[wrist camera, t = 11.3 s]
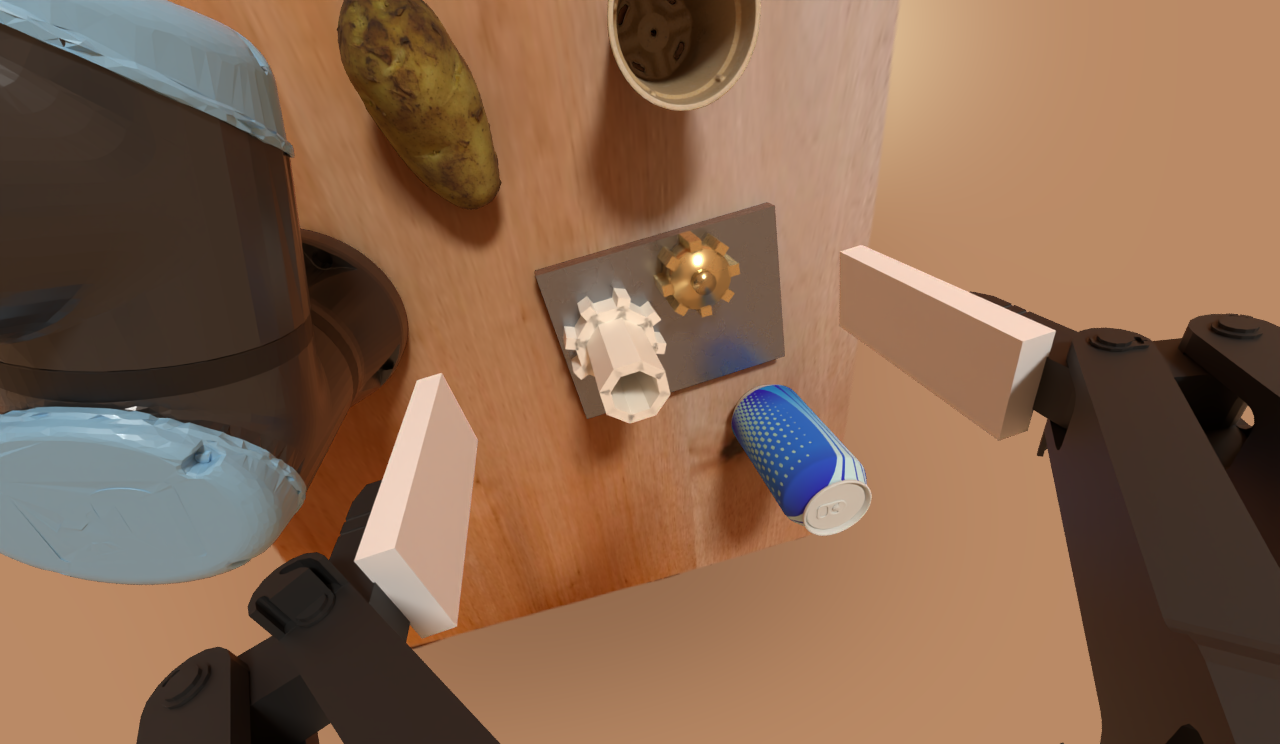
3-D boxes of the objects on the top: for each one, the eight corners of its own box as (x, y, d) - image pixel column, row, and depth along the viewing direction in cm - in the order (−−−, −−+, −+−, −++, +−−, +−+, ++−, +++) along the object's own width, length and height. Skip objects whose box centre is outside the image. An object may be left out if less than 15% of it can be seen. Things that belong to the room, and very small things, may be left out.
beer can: (754, 368, 53) (836, 462, 39) (807, 392, 56) (899, 487, 43) (713, 426, 56) (776, 532, 42) (766, 446, 59) (839, 550, 46)
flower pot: (705, 110, 39) (748, 113, 32) (589, 105, 37) (607, 108, 30) (719, -41, 34) (773, -77, 27) (587, -55, 32) (608, -99, 25)
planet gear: (580, 386, 47) (595, 453, 39) (552, 306, 43) (561, 362, 34) (666, 359, 48) (699, 420, 39) (647, 277, 43) (680, 325, 34)
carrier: (585, 410, 51) (592, 446, 46) (534, 270, 42) (537, 294, 37) (778, 349, 52) (806, 377, 47) (767, 202, 44) (800, 216, 39)
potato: (395, 204, 37) (369, 229, 31) (348, -3, 31) (300, -30, 24) (505, 201, 39) (503, 224, 32) (482, 4, 33) (472, -19, 26)
